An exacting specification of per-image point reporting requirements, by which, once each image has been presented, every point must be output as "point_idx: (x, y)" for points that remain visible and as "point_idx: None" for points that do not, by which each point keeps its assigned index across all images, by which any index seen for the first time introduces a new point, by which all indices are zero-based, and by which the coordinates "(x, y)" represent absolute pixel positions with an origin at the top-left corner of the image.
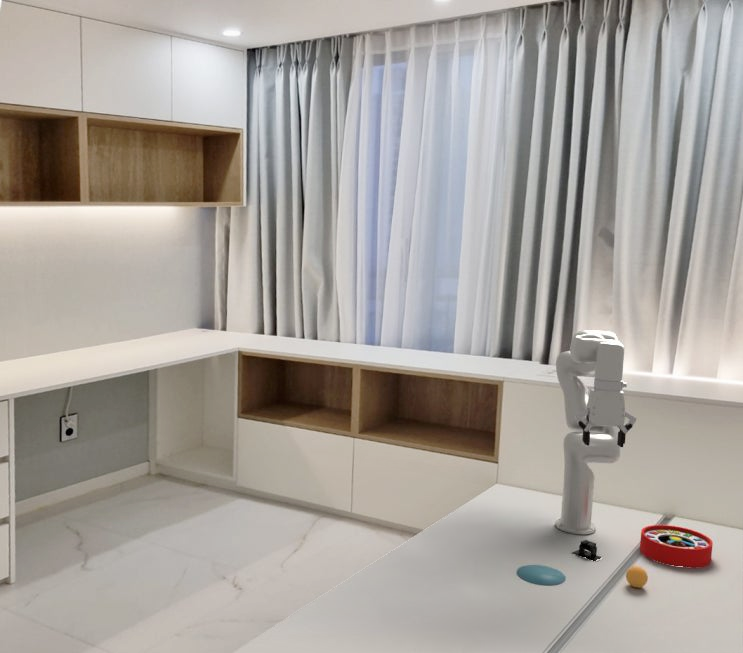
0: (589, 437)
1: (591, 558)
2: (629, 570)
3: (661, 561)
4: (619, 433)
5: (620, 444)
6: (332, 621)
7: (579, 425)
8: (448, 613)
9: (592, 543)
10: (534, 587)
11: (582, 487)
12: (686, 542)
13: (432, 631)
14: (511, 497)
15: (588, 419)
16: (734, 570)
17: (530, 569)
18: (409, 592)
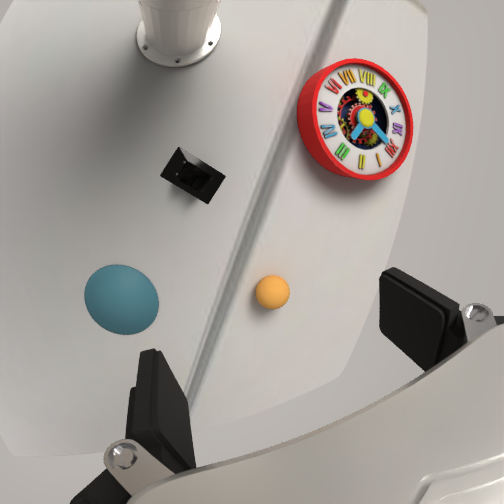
0: (189, 442)
1: (200, 193)
2: (263, 301)
3: (325, 167)
4: (434, 338)
5: (387, 332)
6: (16, 434)
7: (92, 492)
8: (69, 417)
9: (202, 178)
10: (122, 344)
11: (186, 13)
12: (379, 131)
13: (76, 440)
14: None
15: (156, 501)
16: (410, 166)
17: (101, 289)
18: (19, 389)
